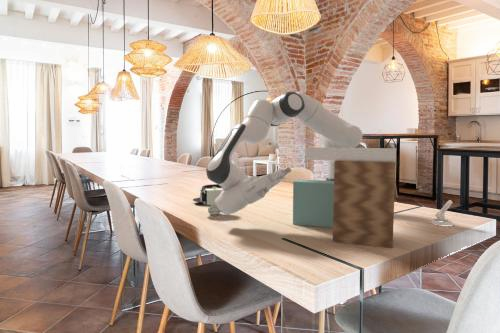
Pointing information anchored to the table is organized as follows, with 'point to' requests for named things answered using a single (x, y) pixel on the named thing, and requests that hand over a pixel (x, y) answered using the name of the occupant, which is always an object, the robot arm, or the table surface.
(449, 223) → the hook
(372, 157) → the rail
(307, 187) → the mint green rectangular block
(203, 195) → the pneumatic valve
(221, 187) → the casserole
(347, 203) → the stand
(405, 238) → the table surface
